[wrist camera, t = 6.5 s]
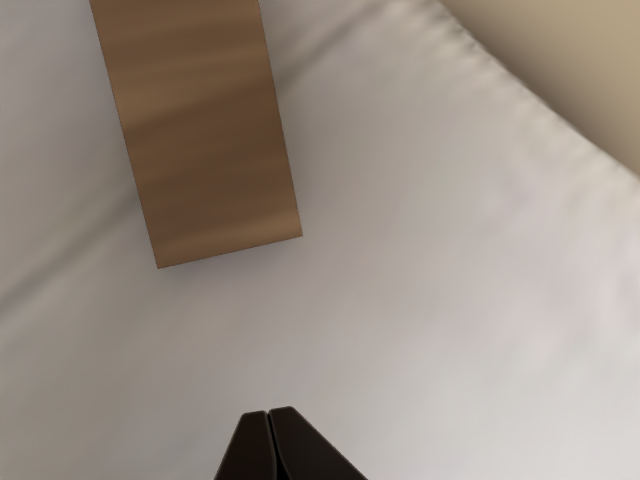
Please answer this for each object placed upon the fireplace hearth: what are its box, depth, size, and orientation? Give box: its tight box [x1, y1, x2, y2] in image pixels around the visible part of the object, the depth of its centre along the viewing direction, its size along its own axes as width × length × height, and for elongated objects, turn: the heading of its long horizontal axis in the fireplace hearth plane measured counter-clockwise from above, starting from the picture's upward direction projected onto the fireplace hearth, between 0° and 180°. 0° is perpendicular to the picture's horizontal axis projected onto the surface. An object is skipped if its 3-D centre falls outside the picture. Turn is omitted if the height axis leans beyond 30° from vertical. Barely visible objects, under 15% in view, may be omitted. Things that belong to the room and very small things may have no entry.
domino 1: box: [89, 0, 303, 269], centre depth 20 cm, size 2×5×10 cm
